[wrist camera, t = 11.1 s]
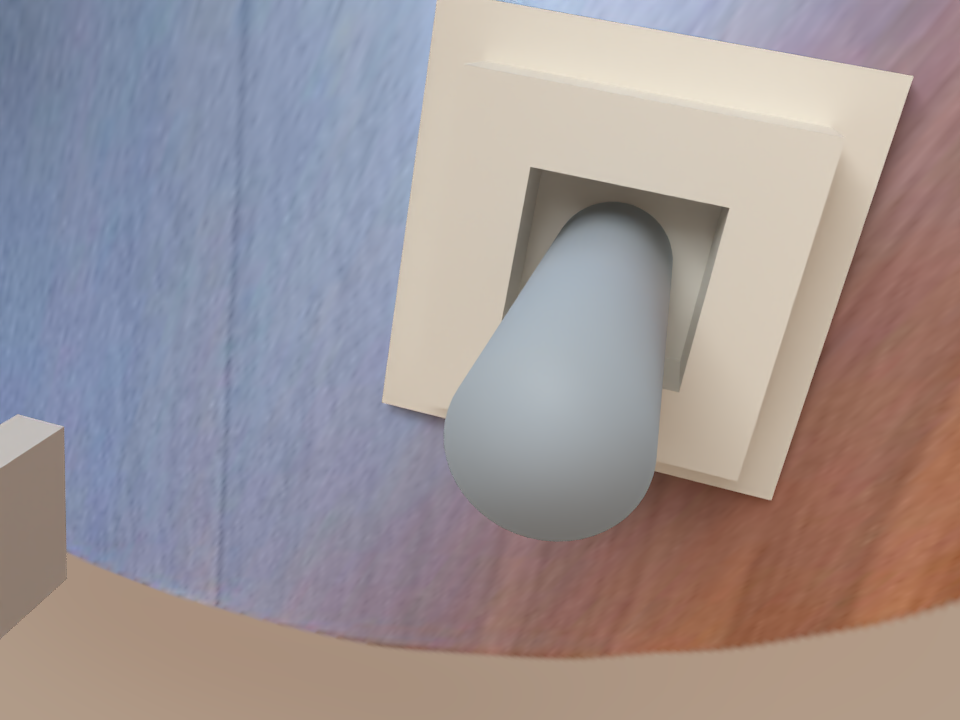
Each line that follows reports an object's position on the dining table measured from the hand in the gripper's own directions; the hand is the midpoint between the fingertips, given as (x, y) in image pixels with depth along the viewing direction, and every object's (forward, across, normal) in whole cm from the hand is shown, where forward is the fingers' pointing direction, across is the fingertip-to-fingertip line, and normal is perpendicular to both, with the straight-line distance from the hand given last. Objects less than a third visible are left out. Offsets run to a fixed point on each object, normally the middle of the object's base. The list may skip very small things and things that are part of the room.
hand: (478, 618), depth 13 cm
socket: (+23, 0, 0) cm, 23 cm away
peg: (+22, 0, 0) cm, 22 cm away
